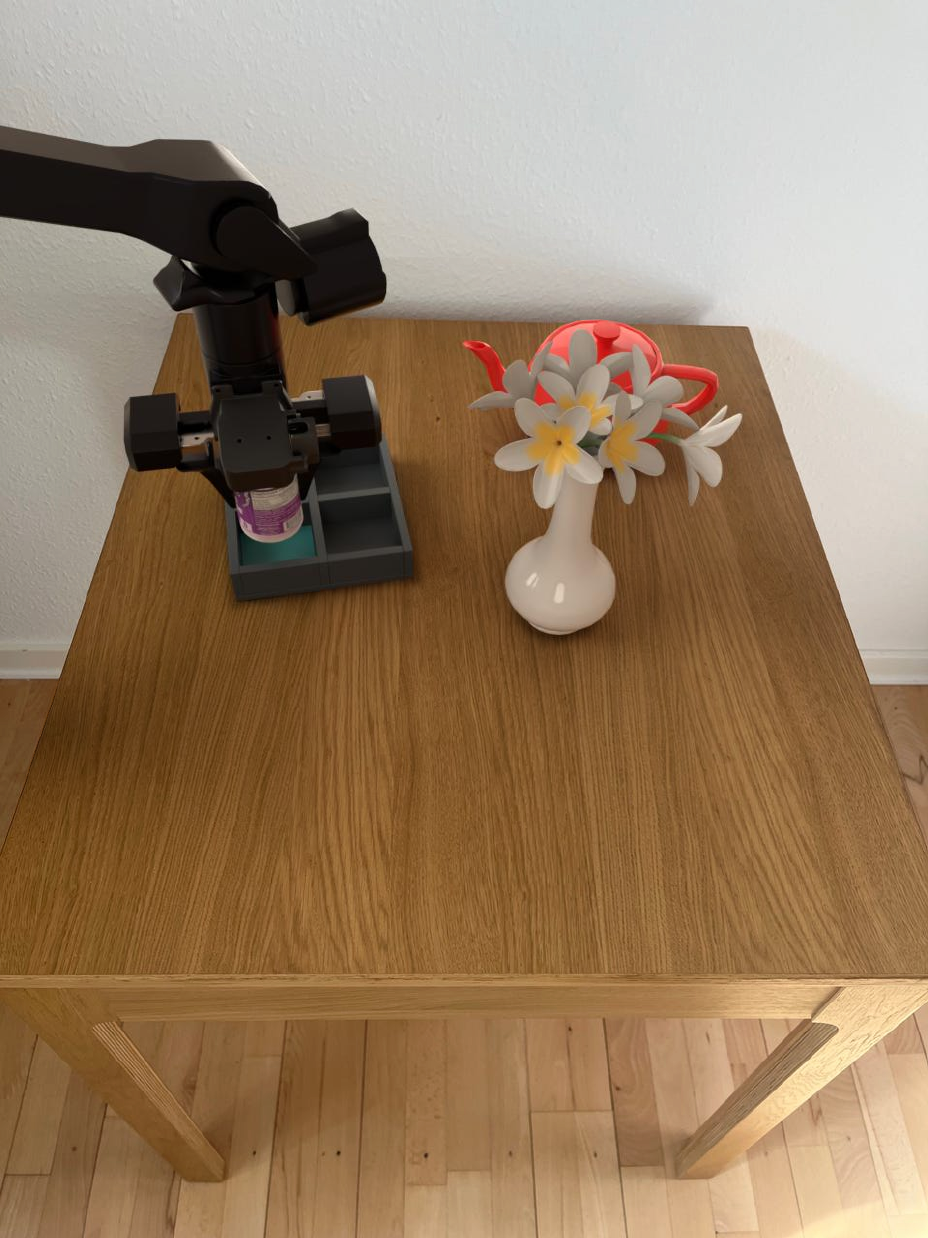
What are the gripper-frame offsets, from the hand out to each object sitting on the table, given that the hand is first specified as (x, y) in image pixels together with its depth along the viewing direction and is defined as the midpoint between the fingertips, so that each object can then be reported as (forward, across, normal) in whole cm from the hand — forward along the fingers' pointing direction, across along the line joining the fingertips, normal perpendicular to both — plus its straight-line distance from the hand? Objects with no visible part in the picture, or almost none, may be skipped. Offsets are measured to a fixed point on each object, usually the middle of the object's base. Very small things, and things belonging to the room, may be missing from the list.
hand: (268, 501), depth 78 cm
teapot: (+8, +32, +13) cm, 35 cm away
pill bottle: (+3, 0, 0) cm, 3 cm away
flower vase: (+8, +24, -9) cm, 27 cm away
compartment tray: (+8, +4, +4) cm, 9 cm away
